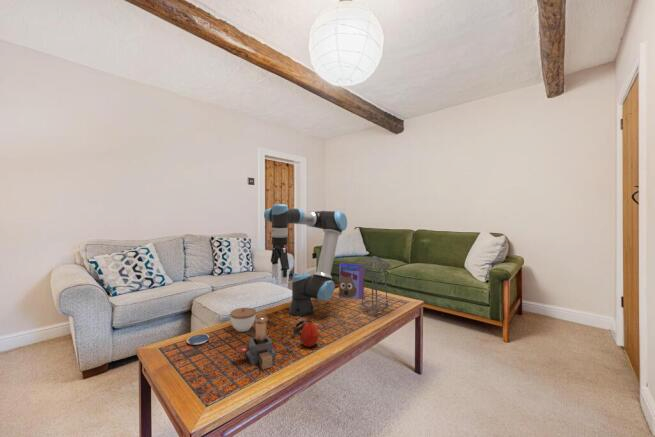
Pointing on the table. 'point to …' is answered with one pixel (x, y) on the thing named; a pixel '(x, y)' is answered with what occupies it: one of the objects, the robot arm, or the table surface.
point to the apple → (309, 334)
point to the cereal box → (351, 281)
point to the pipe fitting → (261, 328)
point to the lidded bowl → (243, 319)
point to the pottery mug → (303, 322)
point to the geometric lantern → (375, 281)
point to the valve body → (259, 353)
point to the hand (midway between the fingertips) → (279, 280)
